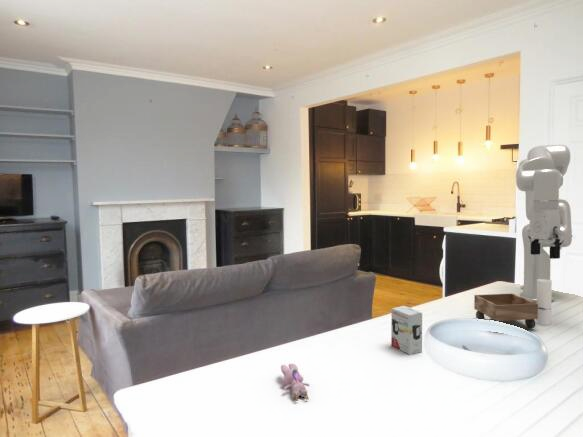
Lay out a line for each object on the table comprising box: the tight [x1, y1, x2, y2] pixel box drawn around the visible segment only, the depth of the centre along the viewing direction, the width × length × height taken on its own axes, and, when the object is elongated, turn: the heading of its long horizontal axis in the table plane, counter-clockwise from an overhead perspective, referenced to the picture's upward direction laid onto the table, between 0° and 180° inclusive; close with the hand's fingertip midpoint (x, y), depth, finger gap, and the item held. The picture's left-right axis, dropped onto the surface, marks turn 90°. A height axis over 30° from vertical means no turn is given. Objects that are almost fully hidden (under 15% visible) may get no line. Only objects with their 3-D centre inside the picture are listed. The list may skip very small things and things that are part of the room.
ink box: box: [390, 305, 423, 355], centre depth 124 cm, size 9×5×12 cm, turn 25°
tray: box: [473, 293, 538, 329], centre depth 143 cm, size 14×14×9 cm
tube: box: [535, 279, 553, 326], centre depth 144 cm, size 4×4×15 cm
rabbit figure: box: [280, 363, 310, 402], centre depth 101 cm, size 6×6×15 cm
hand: (544, 256), depth 143 cm, fingers open, 9 cm apart
